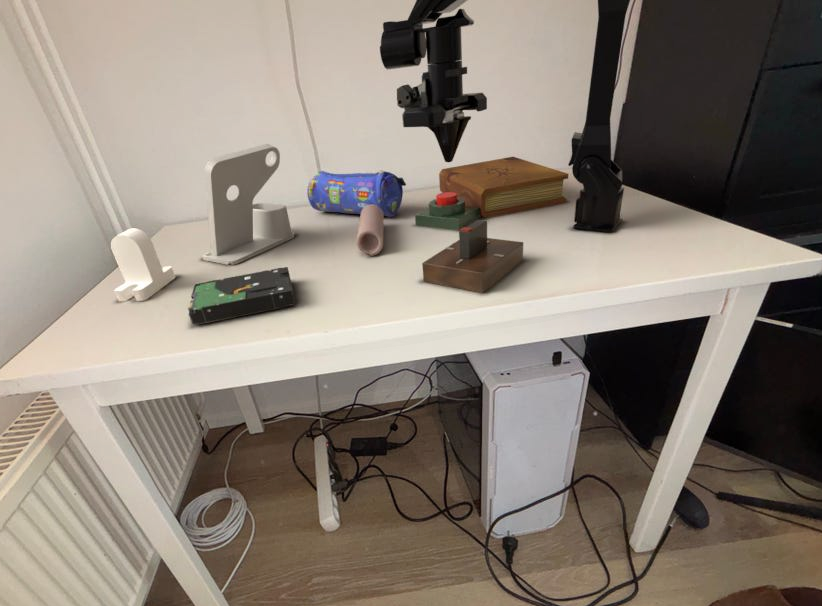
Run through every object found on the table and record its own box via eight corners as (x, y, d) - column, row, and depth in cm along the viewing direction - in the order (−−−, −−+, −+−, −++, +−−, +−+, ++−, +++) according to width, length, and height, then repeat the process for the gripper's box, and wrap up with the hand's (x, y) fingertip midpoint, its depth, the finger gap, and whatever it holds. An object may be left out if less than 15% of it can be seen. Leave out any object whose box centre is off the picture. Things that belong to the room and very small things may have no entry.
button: (461, 201, 95) (460, 192, 94) (450, 207, 92) (449, 198, 91) (443, 200, 97) (443, 191, 96) (432, 205, 95) (432, 196, 94)
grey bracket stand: (266, 231, 106) (244, 142, 96) (299, 235, 100) (279, 141, 91) (200, 259, 94) (168, 161, 85) (233, 265, 89) (203, 162, 79)
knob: (477, 245, 75) (477, 218, 73) (487, 246, 74) (487, 219, 72) (459, 257, 72) (458, 229, 69) (469, 259, 71) (468, 230, 68)
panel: (522, 260, 76) (523, 241, 74) (482, 293, 68) (482, 272, 66) (466, 252, 81) (466, 234, 80) (423, 281, 73) (421, 261, 71)
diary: (440, 195, 115) (438, 169, 112) (512, 181, 118) (512, 156, 115) (481, 219, 96) (481, 189, 93) (566, 202, 99) (568, 172, 96)
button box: (479, 218, 96) (479, 197, 94) (459, 230, 91) (458, 209, 89) (437, 214, 102) (436, 194, 100) (415, 225, 97) (414, 205, 95)
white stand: (176, 276, 88) (156, 221, 82) (145, 300, 79) (120, 241, 74) (151, 277, 89) (129, 223, 83) (117, 301, 80) (91, 243, 75)
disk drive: (291, 281, 79) (198, 299, 77) (287, 265, 78) (193, 282, 76) (296, 307, 71) (192, 327, 69) (292, 289, 69) (186, 309, 67)
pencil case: (409, 210, 106) (405, 164, 101) (388, 222, 101) (383, 174, 96) (331, 206, 118) (323, 164, 113) (308, 217, 112) (299, 173, 107)
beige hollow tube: (383, 230, 82) (383, 203, 98) (355, 230, 82) (360, 203, 98) (383, 256, 85) (383, 226, 100) (356, 257, 85) (361, 226, 100)
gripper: (434, 62, 91) (439, 151, 99) (372, 72, 79) (383, 172, 88) (488, 56, 85) (488, 151, 93) (428, 66, 73) (434, 174, 81)
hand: (448, 161), depth 89 cm, fingers closed
